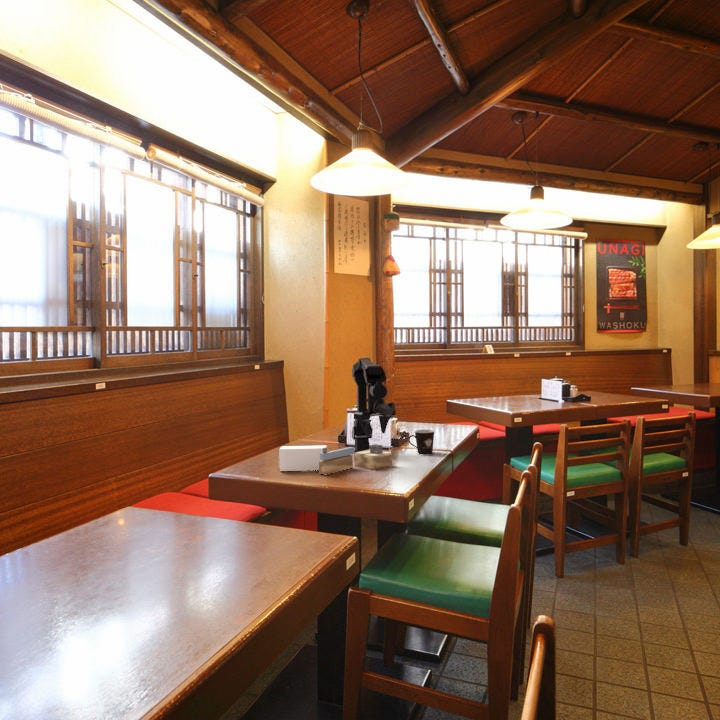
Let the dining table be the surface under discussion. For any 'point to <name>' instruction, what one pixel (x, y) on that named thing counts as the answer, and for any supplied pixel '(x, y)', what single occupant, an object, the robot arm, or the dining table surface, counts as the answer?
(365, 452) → the lid
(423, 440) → the coffee mug
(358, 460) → the toolbox
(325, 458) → the block
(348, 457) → the tan rectangular bar
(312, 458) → the white rectangular block
